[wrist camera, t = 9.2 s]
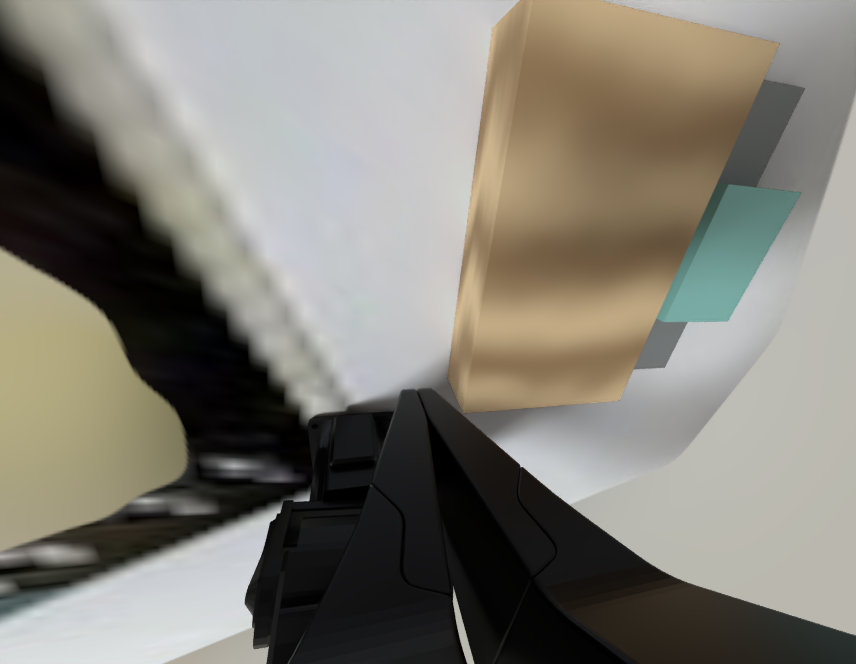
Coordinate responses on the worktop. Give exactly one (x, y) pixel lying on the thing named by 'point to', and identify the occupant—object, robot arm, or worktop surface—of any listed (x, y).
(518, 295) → the board
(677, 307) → the teal rectangular block
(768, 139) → the mat
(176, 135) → the worktop surface
